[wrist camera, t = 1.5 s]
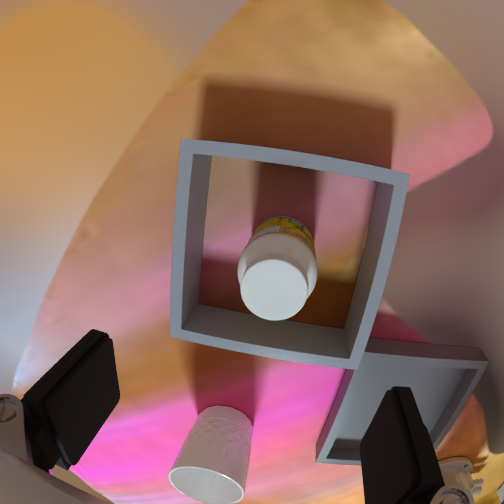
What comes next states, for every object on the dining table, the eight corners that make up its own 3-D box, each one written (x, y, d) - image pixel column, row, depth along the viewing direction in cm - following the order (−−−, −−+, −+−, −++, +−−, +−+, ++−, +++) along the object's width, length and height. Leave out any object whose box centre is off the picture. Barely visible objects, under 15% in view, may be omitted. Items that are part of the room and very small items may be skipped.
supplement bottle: (241, 229, 28) (212, 266, 19) (299, 204, 27) (297, 230, 18) (267, 283, 29) (251, 341, 20) (323, 262, 28) (332, 313, 19)
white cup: (239, 395, 34) (220, 464, 24) (268, 438, 35) (257, 503, 26) (182, 407, 35) (153, 467, 26) (213, 446, 37) (193, 505, 28)
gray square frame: (390, 170, 25) (409, 173, 20) (350, 339, 30) (357, 369, 25) (202, 141, 26) (181, 138, 22) (188, 310, 31) (169, 336, 26)
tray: (478, 347, 28) (489, 361, 25) (420, 449, 33) (424, 464, 30) (357, 335, 29) (361, 351, 27) (315, 445, 35) (315, 462, 32)
